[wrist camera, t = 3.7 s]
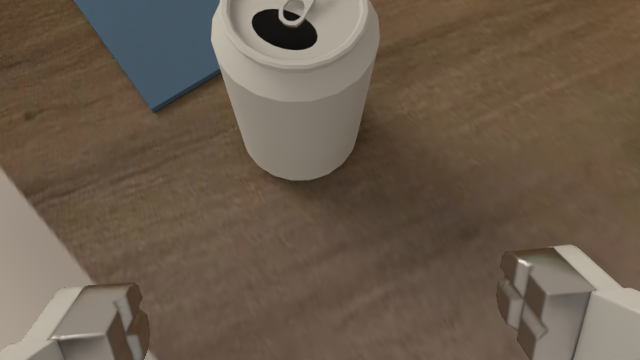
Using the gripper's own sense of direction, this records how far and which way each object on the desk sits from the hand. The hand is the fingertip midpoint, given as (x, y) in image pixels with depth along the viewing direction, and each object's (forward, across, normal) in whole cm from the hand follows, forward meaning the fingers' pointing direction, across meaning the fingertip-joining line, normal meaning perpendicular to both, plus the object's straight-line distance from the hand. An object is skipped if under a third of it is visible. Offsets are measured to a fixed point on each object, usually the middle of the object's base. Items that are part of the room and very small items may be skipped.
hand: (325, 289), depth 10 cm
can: (+20, 0, +3) cm, 20 cm away
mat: (+28, +7, -5) cm, 29 cm away
